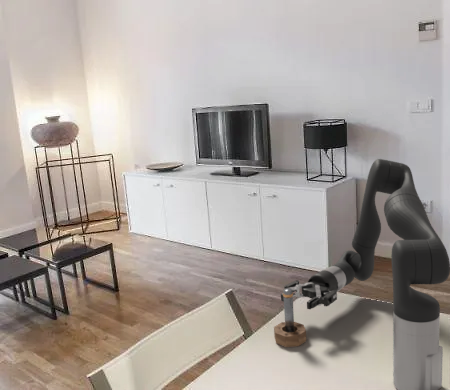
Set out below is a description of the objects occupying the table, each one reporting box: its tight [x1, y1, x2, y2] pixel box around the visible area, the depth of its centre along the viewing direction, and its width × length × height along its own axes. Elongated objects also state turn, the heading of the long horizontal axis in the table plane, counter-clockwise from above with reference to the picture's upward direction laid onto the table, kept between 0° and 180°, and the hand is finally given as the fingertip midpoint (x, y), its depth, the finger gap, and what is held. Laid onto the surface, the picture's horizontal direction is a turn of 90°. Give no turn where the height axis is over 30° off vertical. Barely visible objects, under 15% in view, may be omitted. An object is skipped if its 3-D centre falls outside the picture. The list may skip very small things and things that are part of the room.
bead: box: [273, 321, 307, 348], centre depth 131 cm, size 8×8×3 cm
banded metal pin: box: [282, 288, 295, 333], centre depth 130 cm, size 3×3×14 cm
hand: (294, 301), depth 131 cm, fingers open, 8 cm apart
